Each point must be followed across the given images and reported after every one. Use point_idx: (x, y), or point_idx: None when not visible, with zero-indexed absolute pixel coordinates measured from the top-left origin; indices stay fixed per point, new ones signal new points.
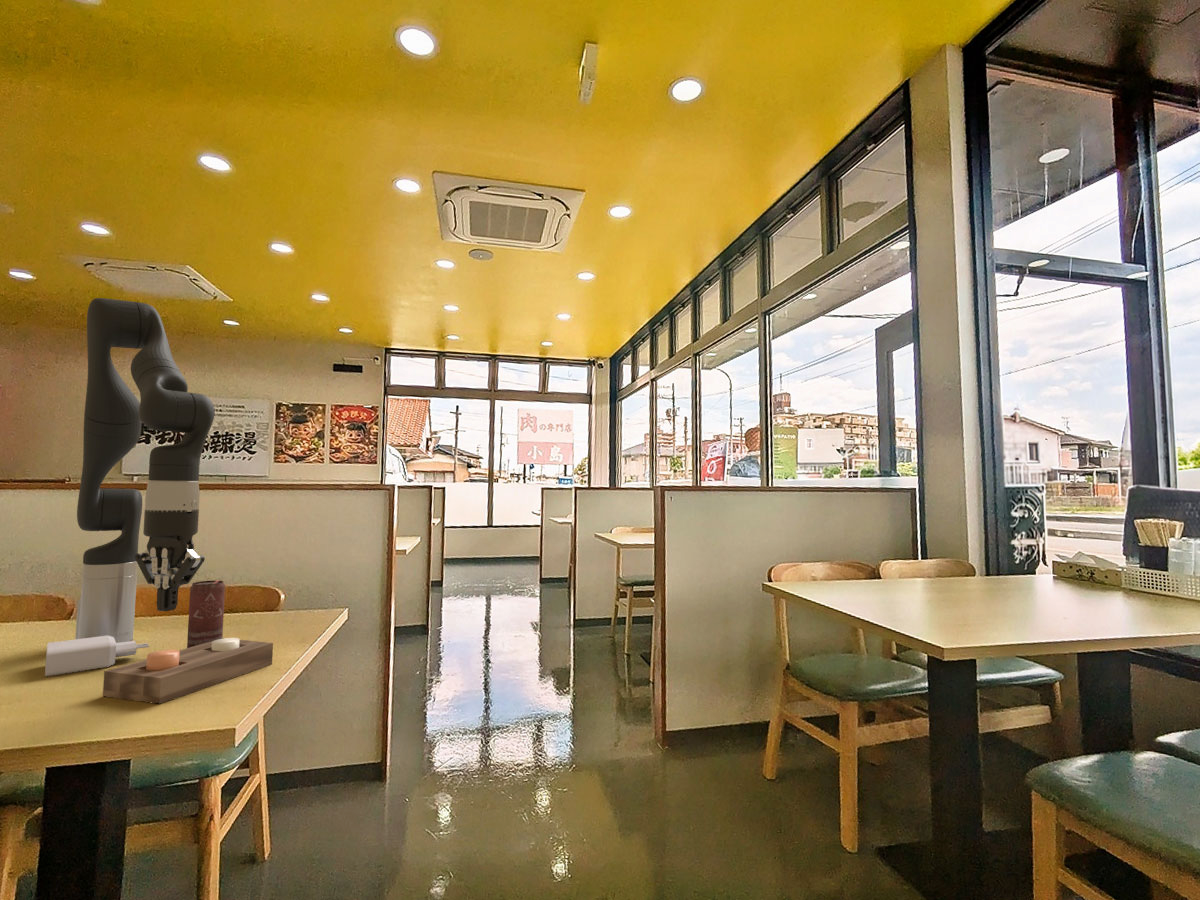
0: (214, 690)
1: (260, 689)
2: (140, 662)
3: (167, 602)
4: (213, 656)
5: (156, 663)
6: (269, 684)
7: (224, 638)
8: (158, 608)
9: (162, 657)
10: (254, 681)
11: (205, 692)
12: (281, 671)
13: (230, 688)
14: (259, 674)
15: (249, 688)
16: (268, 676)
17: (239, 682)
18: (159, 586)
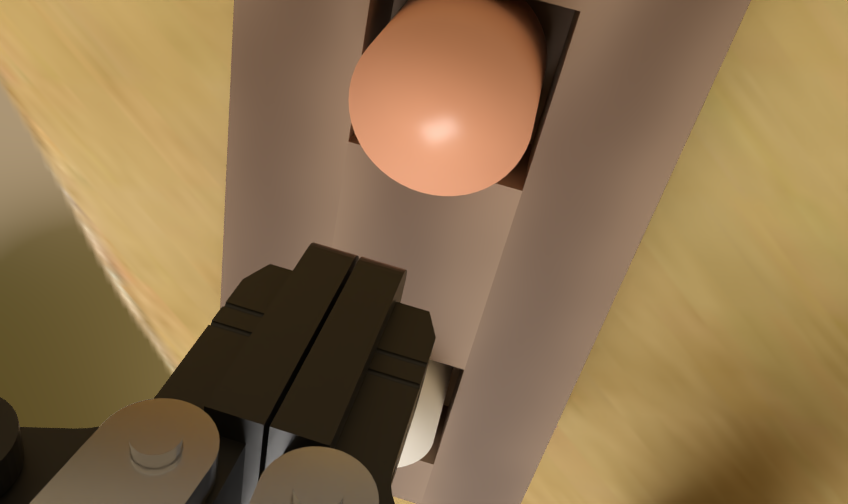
0: (212, 39)
1: (27, 59)
2: (652, 145)
3: (260, 306)
4: (305, 249)
5: (422, 7)
6: (49, 126)
7: (411, 460)
8: (381, 268)
9: (385, 33)
10: (143, 165)
11: (229, 8)
12: (145, 285)
13: (164, 70)
14: (200, 253)
15: (83, 71)
16: (142, 227)
17: (195, 152)
18: (280, 463)
